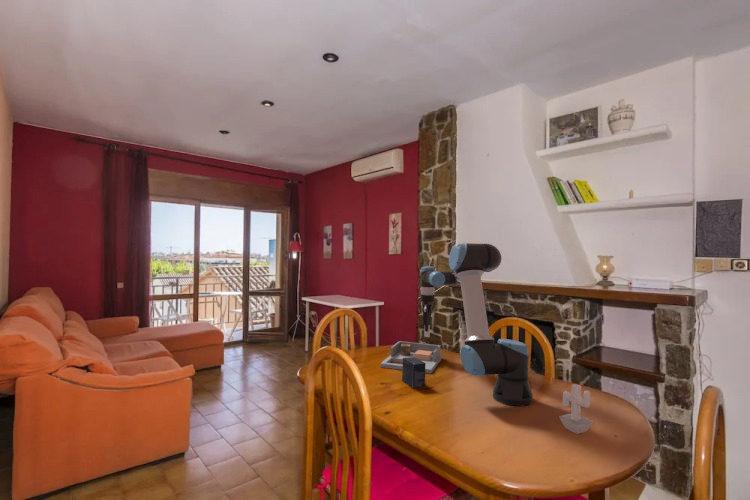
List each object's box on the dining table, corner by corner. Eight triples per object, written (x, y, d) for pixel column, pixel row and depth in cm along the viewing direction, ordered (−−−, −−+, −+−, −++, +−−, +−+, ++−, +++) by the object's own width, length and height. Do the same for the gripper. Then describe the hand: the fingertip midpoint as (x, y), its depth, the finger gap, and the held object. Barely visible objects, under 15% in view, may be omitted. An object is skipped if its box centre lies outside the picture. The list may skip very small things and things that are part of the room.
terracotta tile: (432, 356, 200) (432, 351, 200) (429, 361, 192) (429, 355, 192) (418, 355, 203) (418, 349, 203) (414, 359, 195) (414, 353, 195)
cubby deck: (442, 358, 204) (442, 345, 204) (431, 373, 178) (431, 359, 178) (397, 353, 214) (397, 341, 214) (380, 367, 188) (380, 353, 188)
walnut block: (410, 353, 207) (410, 344, 207) (410, 355, 202) (410, 346, 202) (401, 352, 207) (401, 343, 207) (400, 355, 202) (400, 346, 202)
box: (425, 386, 161) (426, 362, 161) (412, 388, 159) (412, 364, 159) (414, 378, 171) (414, 356, 171) (401, 380, 169) (401, 357, 169)
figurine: (570, 421, 129) (571, 378, 129) (596, 434, 120) (596, 388, 120) (555, 425, 126) (556, 381, 126) (580, 438, 117) (581, 391, 118)
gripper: (423, 292, 212) (423, 333, 213) (417, 295, 200) (417, 338, 201) (436, 293, 210) (436, 334, 210) (431, 296, 198) (431, 340, 198)
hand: (426, 336), depth 205 cm, fingers closed
